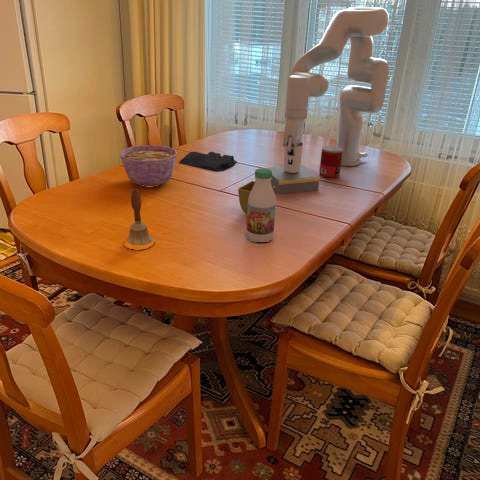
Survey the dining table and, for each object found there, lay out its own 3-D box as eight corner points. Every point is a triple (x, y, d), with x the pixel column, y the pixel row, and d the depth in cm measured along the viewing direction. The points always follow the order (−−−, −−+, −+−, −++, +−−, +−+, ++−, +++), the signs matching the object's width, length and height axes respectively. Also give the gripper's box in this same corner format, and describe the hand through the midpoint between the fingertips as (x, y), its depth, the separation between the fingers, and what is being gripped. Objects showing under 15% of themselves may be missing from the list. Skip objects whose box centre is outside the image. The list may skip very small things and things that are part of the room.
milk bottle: (245, 231, 133) (247, 165, 124) (271, 231, 134) (275, 166, 125) (247, 244, 126) (250, 175, 117) (275, 243, 127) (280, 175, 118)
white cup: (303, 168, 169) (305, 142, 163) (297, 174, 163) (299, 147, 158) (286, 165, 171) (288, 139, 166) (279, 171, 166) (281, 144, 161)
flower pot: (260, 222, 139) (262, 194, 135) (236, 215, 143) (237, 188, 139) (274, 212, 146) (276, 186, 142) (250, 206, 150) (252, 180, 146)
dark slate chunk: (196, 155, 201) (196, 144, 199) (240, 164, 192) (240, 153, 189) (175, 164, 189) (175, 153, 187) (221, 174, 179) (221, 162, 177)
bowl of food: (189, 184, 167) (188, 153, 162) (144, 198, 154) (142, 164, 148) (155, 171, 179) (154, 141, 174) (111, 182, 166) (108, 151, 160)
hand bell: (153, 250, 121) (150, 194, 114) (121, 250, 121) (116, 194, 113) (156, 236, 129) (153, 183, 121) (126, 236, 128) (121, 183, 121)
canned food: (339, 179, 176) (343, 151, 171) (318, 177, 178) (321, 150, 173) (339, 173, 183) (343, 146, 178) (319, 171, 184) (322, 144, 179)
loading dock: (300, 177, 178) (301, 164, 175) (318, 190, 165) (320, 177, 163) (262, 180, 172) (263, 168, 170) (278, 194, 160) (279, 181, 158)
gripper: (291, 108, 165) (288, 157, 174) (278, 116, 152) (275, 169, 160) (312, 110, 163) (307, 160, 171) (300, 119, 149) (296, 172, 158)
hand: (291, 164), depth 166 cm, fingers closed on white cup, 2 cm apart
